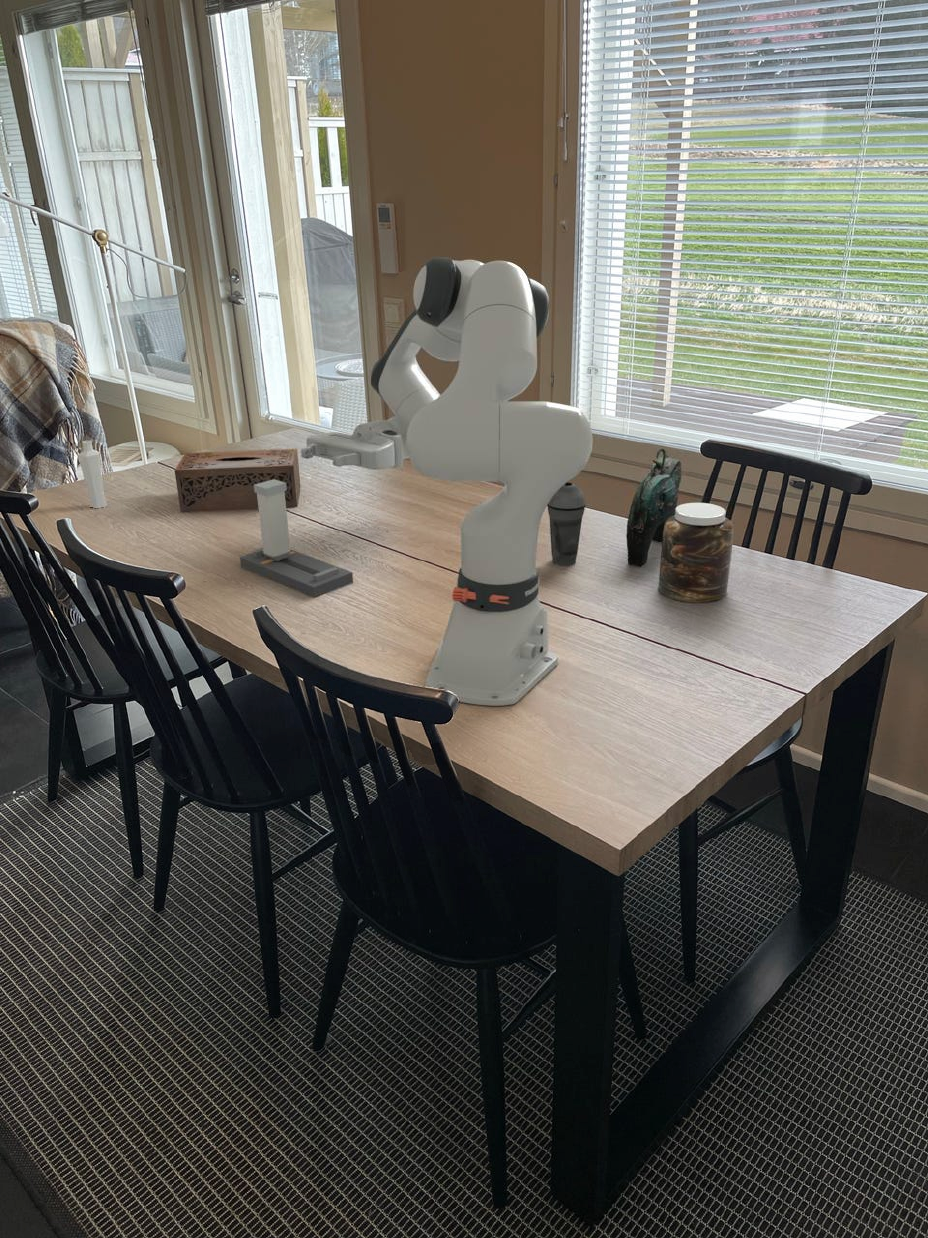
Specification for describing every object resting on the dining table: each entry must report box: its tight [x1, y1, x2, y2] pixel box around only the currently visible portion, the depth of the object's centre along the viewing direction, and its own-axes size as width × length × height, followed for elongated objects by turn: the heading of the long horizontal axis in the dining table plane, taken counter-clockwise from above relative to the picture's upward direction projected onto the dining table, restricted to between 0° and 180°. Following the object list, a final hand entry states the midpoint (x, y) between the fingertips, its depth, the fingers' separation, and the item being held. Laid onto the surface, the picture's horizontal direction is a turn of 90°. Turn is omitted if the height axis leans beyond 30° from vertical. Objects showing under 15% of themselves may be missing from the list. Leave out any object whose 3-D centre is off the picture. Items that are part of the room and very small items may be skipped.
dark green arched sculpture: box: [626, 448, 682, 568], centre depth 179 cm, size 20×6×20 cm, turn 150°
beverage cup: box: [546, 481, 586, 567], centre depth 174 cm, size 7×7×20 cm
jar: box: [658, 502, 734, 604], centre depth 162 cm, size 12×12×15 cm
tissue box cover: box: [174, 448, 302, 513], centre depth 213 cm, size 26×14×10 cm, turn 96°
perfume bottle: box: [77, 440, 108, 509], centre depth 209 cm, size 5×4×15 cm
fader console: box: [239, 547, 354, 598], centre depth 173 cm, size 22×9×3 cm, turn 48°
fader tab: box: [254, 479, 291, 561], centre depth 173 cm, size 4×5×14 cm
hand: (318, 457), depth 177 cm, fingers open, 8 cm apart
